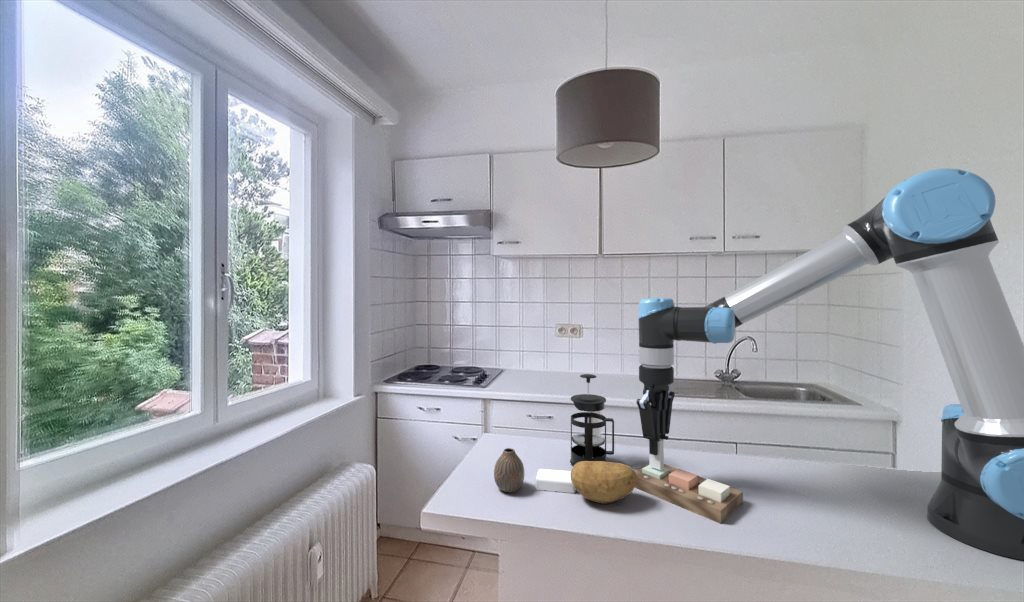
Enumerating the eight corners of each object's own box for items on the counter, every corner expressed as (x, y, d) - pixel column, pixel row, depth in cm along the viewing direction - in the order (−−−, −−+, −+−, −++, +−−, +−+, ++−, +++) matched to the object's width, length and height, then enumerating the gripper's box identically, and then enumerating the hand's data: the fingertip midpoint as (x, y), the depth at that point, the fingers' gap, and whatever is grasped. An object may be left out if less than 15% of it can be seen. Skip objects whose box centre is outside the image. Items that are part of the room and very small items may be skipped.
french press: (567, 470, 99) (566, 378, 98) (567, 454, 108) (567, 370, 107) (615, 473, 97) (615, 379, 96) (612, 457, 106) (612, 371, 106)
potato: (643, 513, 79) (643, 473, 79) (572, 511, 80) (572, 472, 80) (631, 489, 89) (631, 453, 89) (568, 487, 90) (568, 452, 90)
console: (742, 503, 83) (742, 490, 83) (720, 523, 76) (720, 509, 76) (654, 470, 98) (654, 459, 98) (628, 485, 91) (628, 473, 91)
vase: (529, 492, 88) (529, 453, 88) (499, 498, 85) (499, 458, 85) (518, 479, 94) (517, 442, 94) (490, 484, 92) (489, 446, 92)
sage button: (669, 482, 92) (669, 469, 91) (659, 488, 89) (659, 475, 89) (652, 475, 95) (652, 463, 95) (641, 481, 92) (641, 468, 92)
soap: (576, 483, 92) (576, 470, 92) (575, 495, 87) (575, 481, 87) (538, 479, 94) (538, 467, 94) (534, 491, 89) (534, 478, 89)
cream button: (729, 500, 82) (729, 486, 82) (720, 508, 79) (720, 493, 79) (707, 492, 85) (707, 478, 85) (698, 499, 82) (698, 485, 82)
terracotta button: (697, 488, 87) (698, 475, 86) (688, 495, 84) (688, 481, 84) (678, 481, 90) (678, 468, 90) (668, 487, 87) (668, 474, 87)
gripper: (655, 359, 98) (656, 454, 99) (625, 366, 90) (626, 470, 90) (685, 363, 92) (685, 464, 93) (656, 371, 84) (656, 481, 84)
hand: (656, 467), depth 92 cm, fingers closed
